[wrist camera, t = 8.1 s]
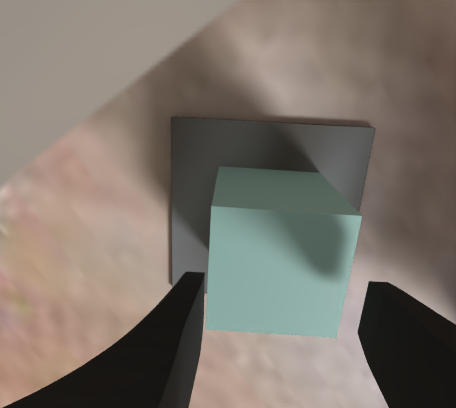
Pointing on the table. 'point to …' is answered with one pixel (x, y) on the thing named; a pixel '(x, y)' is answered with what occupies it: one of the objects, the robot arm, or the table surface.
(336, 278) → the mint green cube
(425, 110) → the table surface
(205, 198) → the peg stand
